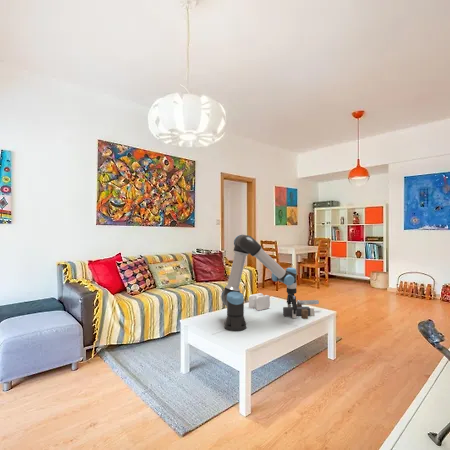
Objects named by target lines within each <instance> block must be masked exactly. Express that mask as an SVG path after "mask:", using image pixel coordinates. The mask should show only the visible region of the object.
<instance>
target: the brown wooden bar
mask: <svg viewBox="0 0 450 450" xmlns="http://www.w3.org/2000/svg"><path fill="white" fill-rule="evenodd" d="M297 307H303V305H297ZM300 317H301V319H303V320H308V319H309V316H308V310H307V309H301V316H300Z"/></svg>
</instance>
